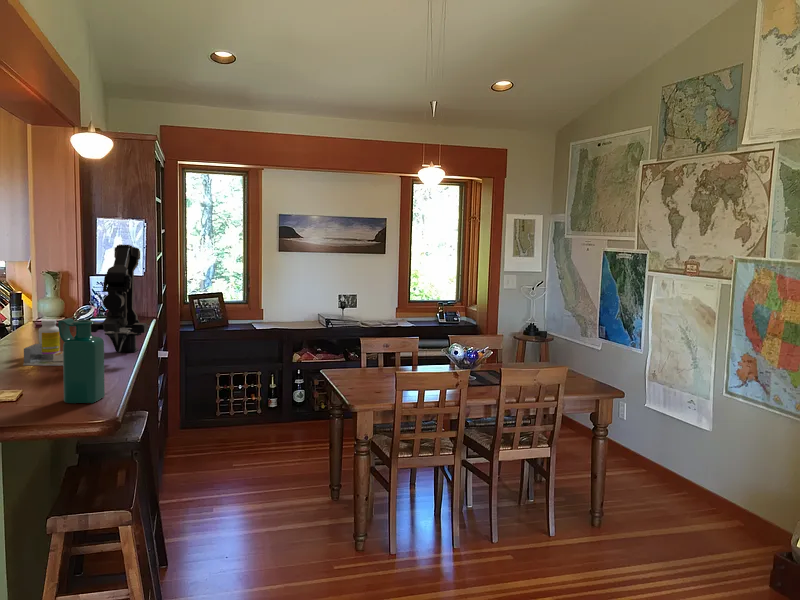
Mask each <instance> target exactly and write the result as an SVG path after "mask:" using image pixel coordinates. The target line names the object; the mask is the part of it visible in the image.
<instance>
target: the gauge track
mask: <svg viewBox="0 0 800 600" xmlns="http://www.w3.org/2000/svg"><path fill="white" fill-rule="evenodd" d="M22 364H23V365H22V366H44V367H45V366H49V367H50V366H52V367H53V366H55V367H56V366H58V367H60V366H62V367H63V361H53V354H42V344H39V343H35V344H32V345H29V346H27V347H25V348H24V347H23V363H22Z"/></svg>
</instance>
